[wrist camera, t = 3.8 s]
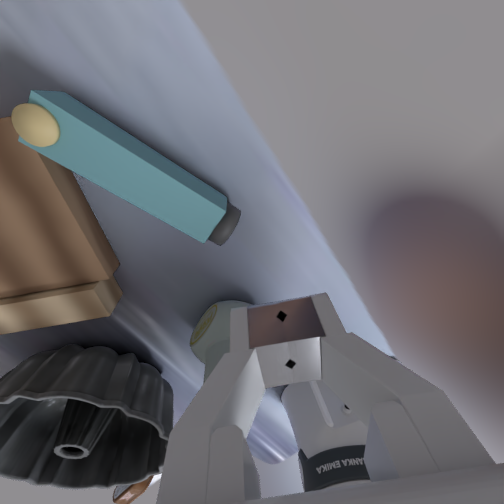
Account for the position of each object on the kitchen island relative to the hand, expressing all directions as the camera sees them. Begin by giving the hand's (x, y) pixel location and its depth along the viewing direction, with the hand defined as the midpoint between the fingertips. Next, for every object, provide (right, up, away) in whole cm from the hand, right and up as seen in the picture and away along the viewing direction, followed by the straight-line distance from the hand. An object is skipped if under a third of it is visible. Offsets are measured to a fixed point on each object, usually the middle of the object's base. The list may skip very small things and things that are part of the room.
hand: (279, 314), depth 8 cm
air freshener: (-4, -7, +28) cm, 29 cm away
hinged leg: (-11, +10, +17) cm, 22 cm away
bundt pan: (-25, -19, +34) cm, 46 cm away
